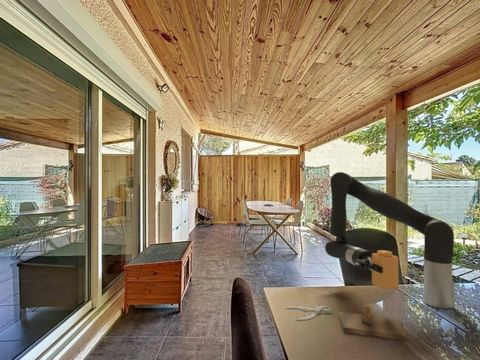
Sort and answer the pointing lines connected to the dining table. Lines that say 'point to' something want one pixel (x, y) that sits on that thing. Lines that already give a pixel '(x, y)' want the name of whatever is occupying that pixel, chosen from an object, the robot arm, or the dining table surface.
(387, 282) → the orange toy brick
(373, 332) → the board
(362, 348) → the dining table surface
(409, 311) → the dining table surface
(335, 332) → the dining table surface
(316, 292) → the dining table surface
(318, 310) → the pliers
